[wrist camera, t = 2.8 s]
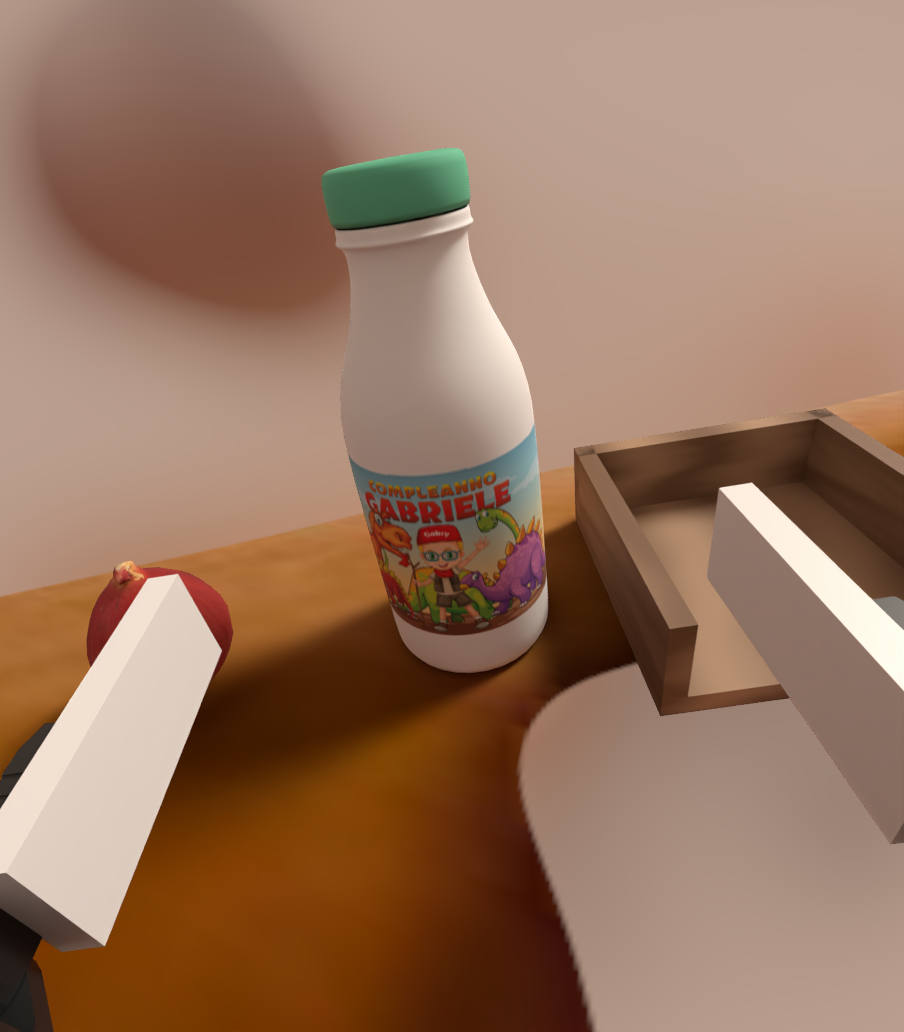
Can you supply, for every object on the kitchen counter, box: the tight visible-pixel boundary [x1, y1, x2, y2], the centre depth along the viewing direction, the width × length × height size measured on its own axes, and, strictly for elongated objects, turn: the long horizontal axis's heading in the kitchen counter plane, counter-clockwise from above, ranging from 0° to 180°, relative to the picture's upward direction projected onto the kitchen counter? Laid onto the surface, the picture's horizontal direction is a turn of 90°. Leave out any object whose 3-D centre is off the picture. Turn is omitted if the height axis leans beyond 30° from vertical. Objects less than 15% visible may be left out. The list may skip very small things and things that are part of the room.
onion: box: [87, 561, 233, 683], centre depth 25 cm, size 6×6×8 cm
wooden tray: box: [574, 408, 904, 716], centre depth 26 cm, size 14×15×5 cm
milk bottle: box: [322, 148, 548, 673], centre depth 22 cm, size 8×8×20 cm
